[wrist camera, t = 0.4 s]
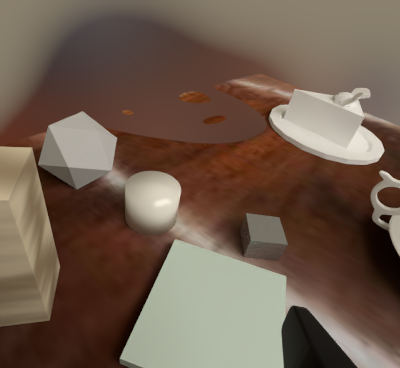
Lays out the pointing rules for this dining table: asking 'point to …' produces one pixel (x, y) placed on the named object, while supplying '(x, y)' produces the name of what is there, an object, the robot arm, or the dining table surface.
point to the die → (78, 150)
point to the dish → (328, 126)
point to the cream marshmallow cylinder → (151, 202)
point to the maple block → (24, 242)
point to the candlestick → (387, 210)
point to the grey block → (262, 237)
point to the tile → (209, 314)
